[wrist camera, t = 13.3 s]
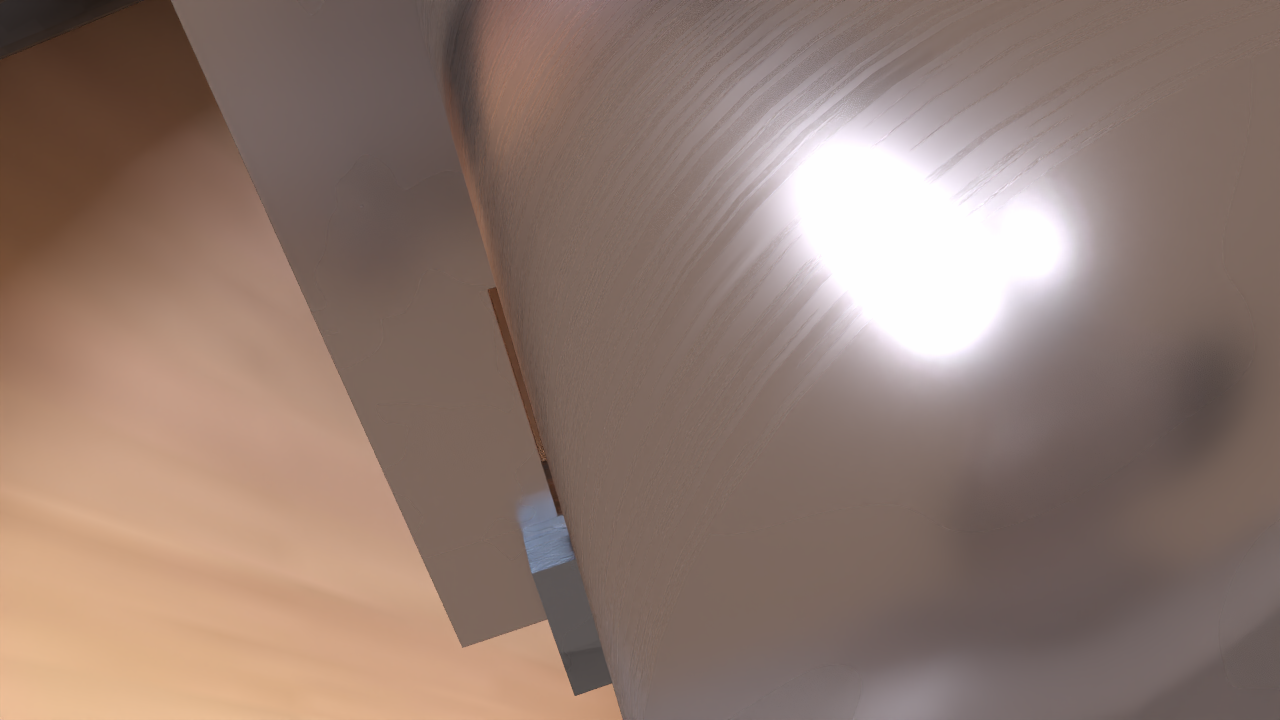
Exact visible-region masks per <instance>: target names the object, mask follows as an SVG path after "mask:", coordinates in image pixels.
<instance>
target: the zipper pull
mask: <svg viewBox="0 0 1280 720" xmlns="http://www.w3.org/2000/svg"><path fill="white" fill-rule="evenodd" d="M141 1H143V0H0V59H3V58H5V57H7V56H10V55H12V54H15V53H17V52H20V51H22V50H24V49H27V48H29V47H32V46H34V45H37V44H39V43H41V42H44V41H46V40H49V39H51V38H53V37H56V36H58V35H61V34H63V33H66V32H68V31H70V30H73V29H75V28H78V27H80V26H83V25H85V24H87V23H90V22H92V21H95V20H97V19H100V18H102V17H104V16H107V15H109V14H112V13H114V12H117V11H119V10H121V9H124V8H126V7H129V6H131V5H134V4H136V3H138V2H141Z"/></svg>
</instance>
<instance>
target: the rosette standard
mask: <svg viewBox="0 0 1280 720" xmlns="http://www.w3.org/2000/svg"><path fill="white" fill-rule="evenodd" d="M171 2H172V4H173V6H174V9H175V11H176V13H177V15H178V18H179V20H180V22H181V24H182V26H183V29H184V31H185V33H186V35H187V38H188V40H189V42H190V44H191V46H192V49H193V51H194V53H195V55H196V58H197V60H198V62H199V64H200V66H201V69H202V71H203V73H204V75H205V77H206V80H207V82H208V84H209V86H210V89H211V91H212V93H213V95H214V97H215V100H216V102H217V104H218V106H219V109H220V111H221V113H222V115H223V117H224V120H225V122H226V124H227V126H228V129H229V131H230V133H231V135H232V137H233V140H234V142H235V144H236V146H237V148H238V151H239V153H240V155H241V157H242V160H243V162H244V164H245V166H246V168H247V171H248V173H249V175H250V177H251V180H252V182H253V184H254V186H255V188H256V191H257V193H258V195H259V197H260V200H261V202H262V204H263V206H264V208H265V211H266V213H267V215H268V217H269V219H270V222H271V224H272V226H273V228H274V231H275V233H276V235H277V237H278V239H279V242H280V244H281V246H282V248H283V251H284V253H285V255H286V257H287V259H288V262H289V264H290V266H291V268H292V271H293V273H294V275H295V277H296V279H297V282H298V284H299V286H300V288H301V291H302V293H303V295H304V297H305V299H306V302H307V304H308V306H309V308H310V310H311V313H312V315H313V317H314V319H315V322H316V324H317V326H318V328H319V330H320V333H321V335H322V337H323V339H324V342H325V344H326V346H327V348H328V350H329V353H330V355H331V357H332V359H333V362H334V364H335V366H336V368H337V370H338V373H339V375H340V377H341V379H342V381H343V384H344V386H345V388H346V390H347V393H348V395H349V397H350V399H351V401H352V404H353V406H354V408H355V410H356V413H357V415H358V417H359V419H360V421H361V424H362V426H363V428H364V430H365V433H366V435H367V437H368V439H369V441H370V444H371V446H372V448H373V450H374V452H375V455H376V457H377V459H378V461H379V464H380V466H381V468H382V470H383V472H384V475H385V477H386V479H387V481H388V484H389V486H390V488H391V490H392V492H393V495H394V497H395V499H396V501H397V504H398V506H399V508H400V510H401V512H402V515H403V517H404V519H405V521H406V523H407V526H408V528H409V530H410V532H411V535H412V537H413V539H414V541H415V543H416V546H417V548H418V550H419V552H420V555H421V557H422V559H423V561H424V563H425V566H426V568H427V570H428V572H429V575H430V577H431V579H432V581H433V583H434V586H435V588H436V590H437V592H438V594H439V597H440V599H441V601H442V603H443V606H444V608H445V610H446V612H447V614H448V617H449V619H450V621H451V623H452V626H453V628H454V630H455V632H456V634H457V637H458V639H459V641H460V643H461V646H462V648H463V647H466V646H469V645H472V644H475V643H478V642H481V641H484V640H487V639H490V638H493V637H496V636H499V635H502V634H505V633H508V632H511V631H514V630H517V629H520V628H523V627H526V626H529V625H532V624H535V623H538V622H541V621H544V620H547V619H548V622H549V624H550V627H551V630H552V633H553V636H554V639H555V641H556V644H557V647H558V650H559V653H560V655H561V658H562V661H563V664H564V667H565V670H566V672H567V675H568V678H569V681H570V684H571V687H572V689H573V692H574V695H575V696H577V695H579V694H582V693H585V692H588V691H591V690H594V689H597V688H599V687H602V686H605V685H608V684H611V683H612V684H613V687H614V691H615V694H616V697H617V701H618V704H619V708H620V711H621V714H622V718H623V720H1280V0H171ZM494 287H496V288H497V291H498V295H499V298H500V302H501V305H502V308H503V312H504V315H505V319H506V322H507V325H508V329H509V332H510V336H511V339H512V343H513V346H514V349H515V353H516V356H517V360H518V363H519V366H520V370H521V373H522V377H523V380H524V383H525V387H526V390H527V394H528V397H529V401H530V404H531V407H532V411H533V414H534V418H535V421H536V424H537V428H538V431H539V435H540V438H541V441H542V445H543V448H544V452H545V455H546V459H547V460H546V461H543V462H542V460H541V457H540V454H539V451H538V448H537V444H536V441H535V438H534V435H533V431H532V428H531V425H530V422H529V419H528V415H527V412H526V409H525V406H524V403H523V399H522V396H521V393H520V390H519V387H518V383H517V380H516V377H515V374H514V370H513V367H512V364H511V361H510V358H509V354H508V351H507V348H506V345H505V342H504V338H503V335H502V332H501V329H500V326H499V322H498V319H497V316H496V313H495V310H494V306H493V303H492V300H491V297H490V293H489V290H488V289H491V288H494Z"/></svg>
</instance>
